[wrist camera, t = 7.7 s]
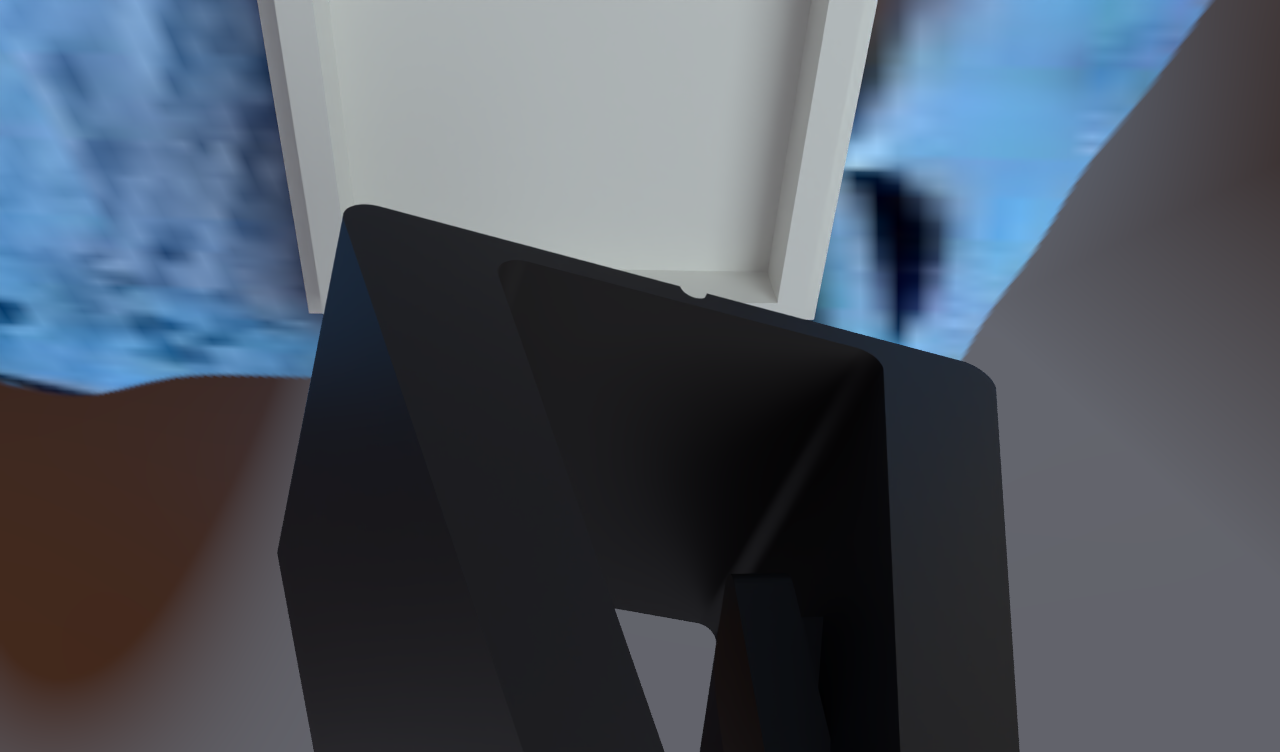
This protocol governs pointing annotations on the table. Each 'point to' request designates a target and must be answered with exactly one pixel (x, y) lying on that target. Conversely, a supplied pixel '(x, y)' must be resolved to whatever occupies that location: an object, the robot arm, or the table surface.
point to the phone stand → (624, 504)
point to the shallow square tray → (579, 129)
